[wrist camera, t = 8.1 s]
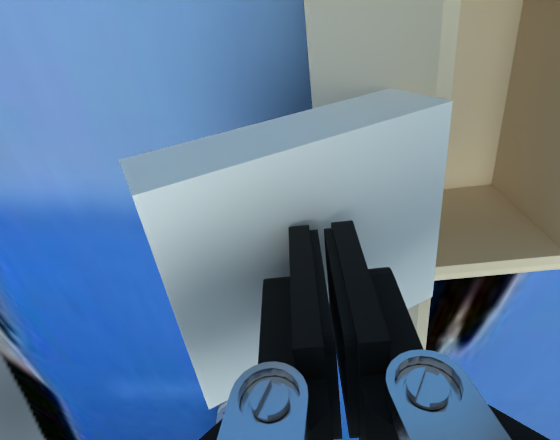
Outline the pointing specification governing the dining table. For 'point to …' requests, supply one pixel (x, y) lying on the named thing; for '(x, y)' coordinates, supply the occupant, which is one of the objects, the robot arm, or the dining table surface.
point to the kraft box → (503, 142)
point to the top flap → (308, 179)
